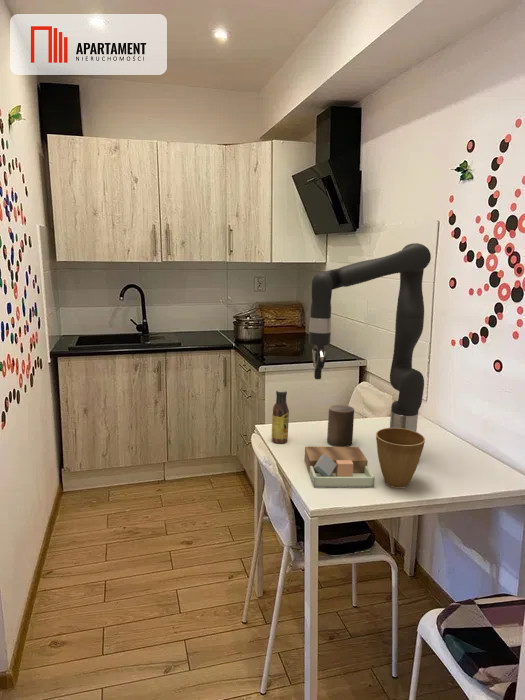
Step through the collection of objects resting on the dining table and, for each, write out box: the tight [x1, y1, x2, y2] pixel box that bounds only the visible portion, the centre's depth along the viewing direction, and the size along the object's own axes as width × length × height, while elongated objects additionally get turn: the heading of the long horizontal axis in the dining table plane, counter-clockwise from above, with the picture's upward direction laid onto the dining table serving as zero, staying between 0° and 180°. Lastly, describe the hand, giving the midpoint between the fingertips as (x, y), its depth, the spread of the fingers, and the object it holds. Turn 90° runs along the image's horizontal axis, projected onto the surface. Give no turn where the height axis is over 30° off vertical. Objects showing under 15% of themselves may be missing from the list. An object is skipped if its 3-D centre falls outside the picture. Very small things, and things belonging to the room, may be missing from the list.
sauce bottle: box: [271, 389, 290, 444], centre depth 195 cm, size 7×6×20 cm
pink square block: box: [335, 460, 353, 477], centre depth 166 cm, size 5×5×3 cm
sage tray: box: [308, 465, 376, 489], centre depth 164 cm, size 19×9×3 cm, turn 93°
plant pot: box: [375, 427, 426, 489], centre depth 162 cm, size 15×15×16 cm
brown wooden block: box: [303, 446, 368, 474], centre depth 174 cm, size 19×12×5 cm, turn 93°
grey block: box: [313, 454, 337, 477], centre depth 165 cm, size 5×5×3 cm
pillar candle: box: [326, 404, 355, 447], centre depth 196 cm, size 10×10×15 cm
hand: (317, 378), depth 182 cm, fingers closed
